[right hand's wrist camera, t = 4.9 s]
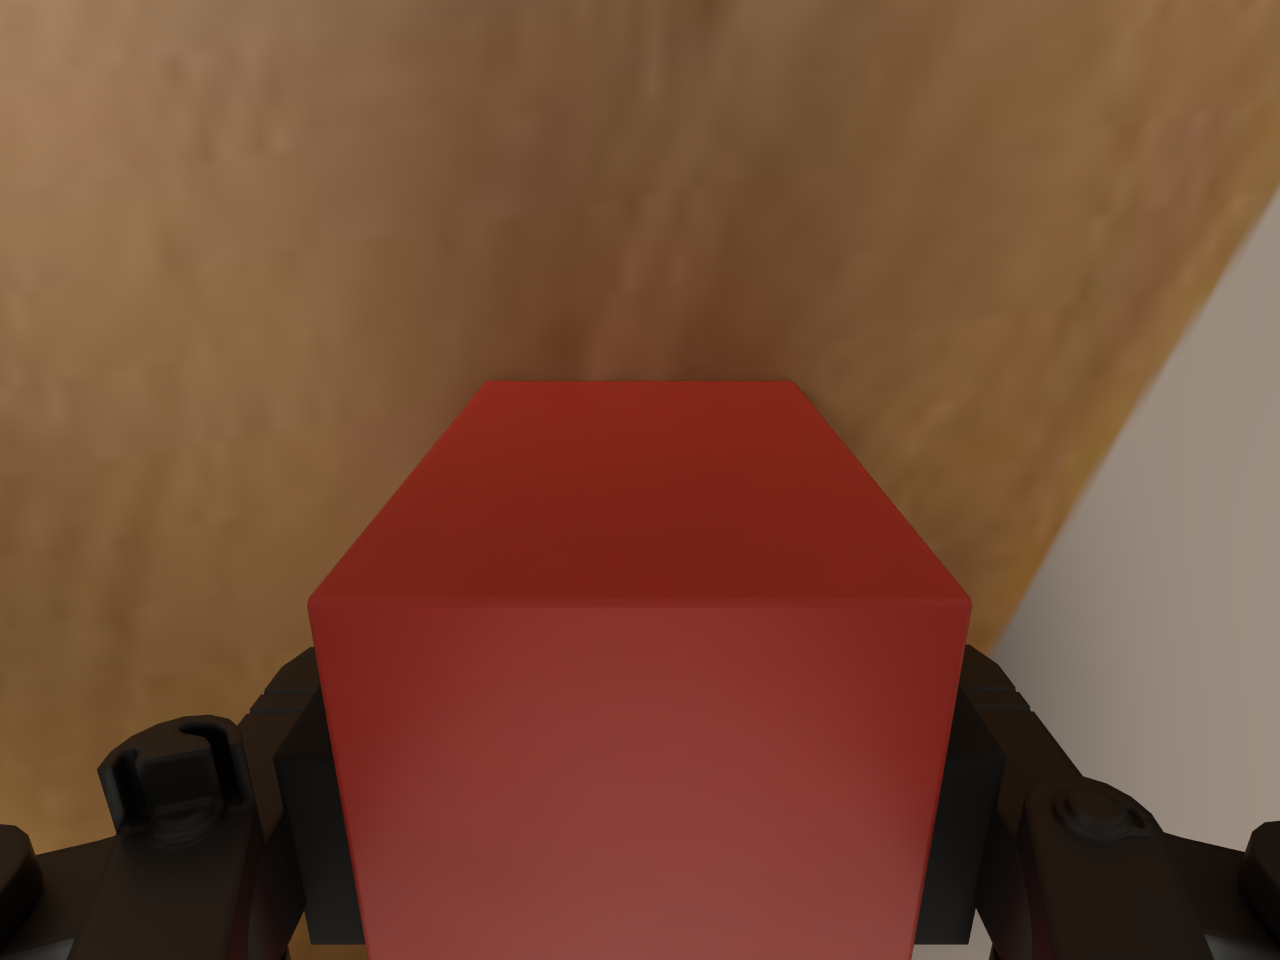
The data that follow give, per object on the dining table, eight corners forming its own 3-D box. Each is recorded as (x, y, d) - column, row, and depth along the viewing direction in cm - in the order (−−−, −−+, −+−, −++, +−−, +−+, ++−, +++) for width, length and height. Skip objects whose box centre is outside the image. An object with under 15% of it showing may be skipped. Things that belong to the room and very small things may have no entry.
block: (794, 379, 15) (977, 599, 7) (774, 667, 18) (891, 1085, 9) (485, 380, 15) (302, 599, 7) (505, 667, 18) (386, 1086, 9)
